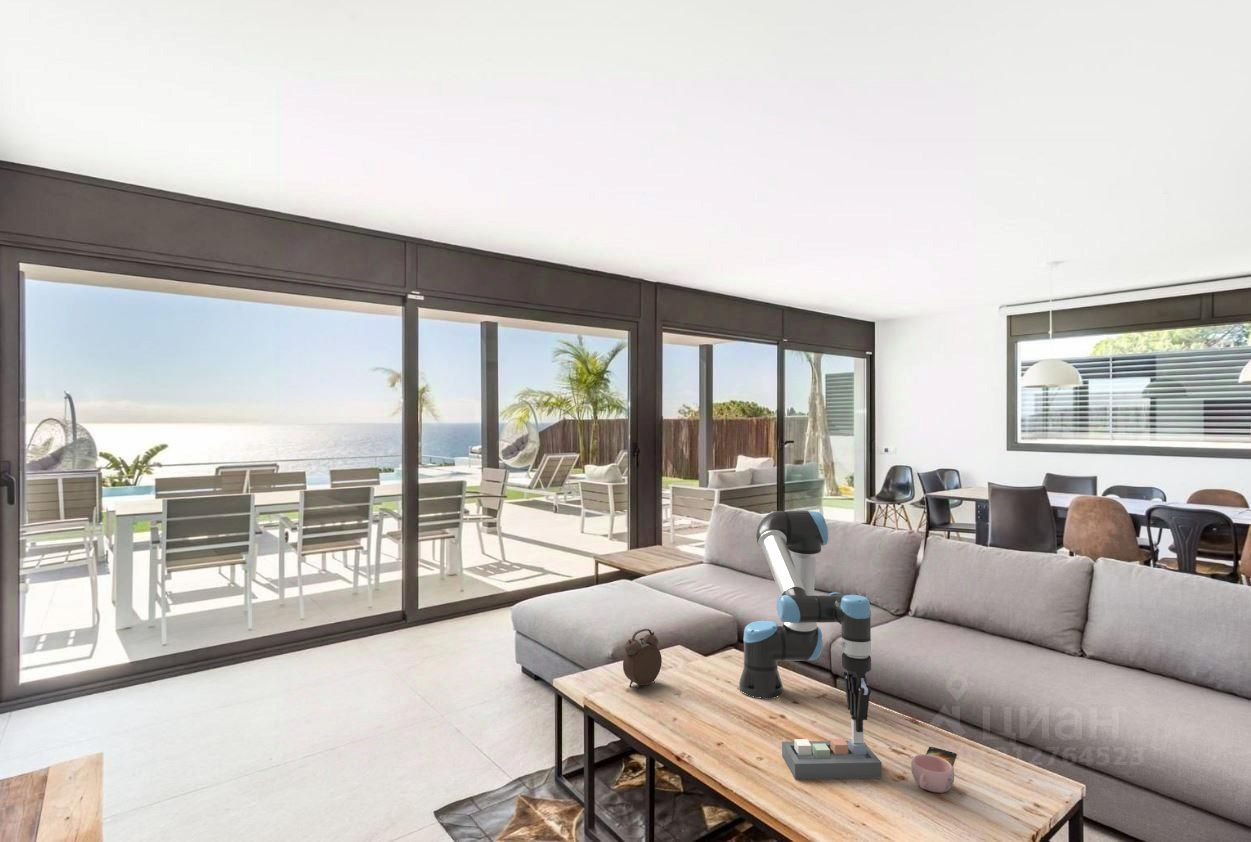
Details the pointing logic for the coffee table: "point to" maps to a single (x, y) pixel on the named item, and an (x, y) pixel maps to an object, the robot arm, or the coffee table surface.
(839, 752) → the key
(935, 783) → the mug
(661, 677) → the coffee table surface
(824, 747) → the key
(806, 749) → the key
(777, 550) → the robot arm
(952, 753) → the smartphone
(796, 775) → the gray rectangular tray
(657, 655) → the alarm clock
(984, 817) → the coffee table surface
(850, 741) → the key
